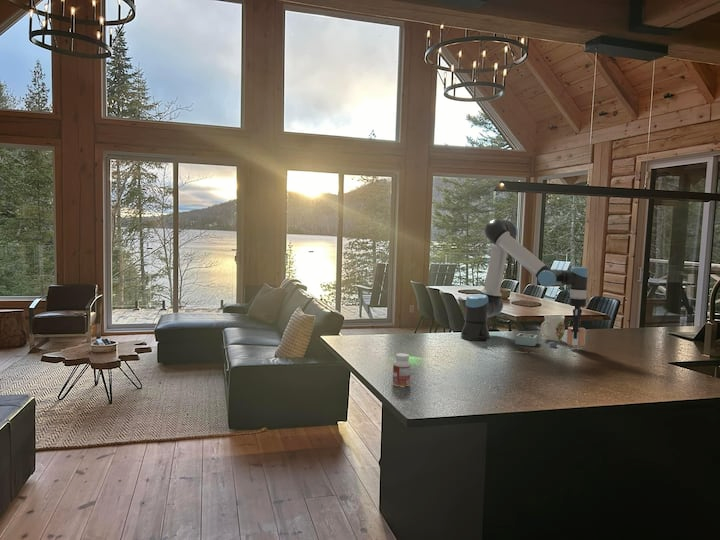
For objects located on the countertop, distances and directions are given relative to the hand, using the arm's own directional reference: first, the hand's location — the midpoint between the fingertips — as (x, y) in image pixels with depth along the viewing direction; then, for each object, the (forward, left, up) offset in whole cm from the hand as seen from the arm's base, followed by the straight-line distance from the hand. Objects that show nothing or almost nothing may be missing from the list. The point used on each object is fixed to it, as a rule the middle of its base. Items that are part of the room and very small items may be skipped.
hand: (575, 343), depth 262 cm
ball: (-10, -4, -3) cm, 11 cm away
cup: (0, 0, 0) cm, 0 cm away
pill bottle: (-49, -108, -3) cm, 119 cm away
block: (-23, -3, -2) cm, 23 cm away
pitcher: (-13, +17, -3) cm, 22 cm away
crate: (-23, -3, -3) cm, 23 cm away
